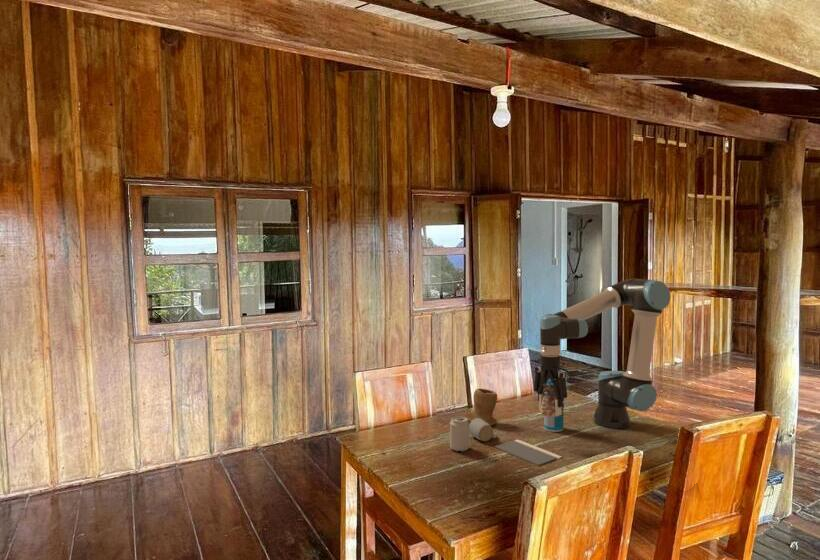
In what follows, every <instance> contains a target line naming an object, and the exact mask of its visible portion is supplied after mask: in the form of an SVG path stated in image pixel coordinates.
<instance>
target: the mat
mask: <svg viewBox="0 0 820 560" xmlns="http://www.w3.org/2000/svg"><path fill="white" fill-rule="evenodd" d="M494 448H496V449H498V450H500V451H503V452H505V453H508V454H509V455H512V456H515V457H517V458H519V459H521V460H523V461H526V462H527V463H530V464H533V465H536V466H537V467H540V466H541V465H545V464H547V463H551V462H553V460H554V461H557V460H558V458H555V457H553V456H550V455H548V454H545V453H543V452H540V451H538V450H535V449H533V448H530V447H528V446H525V445H523V444H520V443H518V442H515V441H514V440H510V441H507V442H503V443H500V444H497V445H494ZM550 461H551V462H550Z"/></svg>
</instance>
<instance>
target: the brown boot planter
mask: <svg viewBox="0 0 820 560" xmlns="http://www.w3.org/2000/svg"><path fill="white" fill-rule="evenodd" d="M497 400H498V394H497V392H495V391H493V390H490V389H487V388H486V389H485V388H476V389H475V390H474V392H473V406H474V411H473V412H468V411H467V412H463V413H462V414H461V415H460V416H459V417H465V418H467V419H468V420H467V421H468V422H469V423H471V421H472V420H473V419H476V418H480V419H482V420H483V421H485V422H486V423H488V424H489V425H490V426H493V425H495V424H497V421H498V420H497V419H496V418H494V415H493V412H494V411H495V408H496V405H497V402H498V401H497Z"/></svg>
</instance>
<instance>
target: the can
mask: <svg viewBox="0 0 820 560" xmlns="http://www.w3.org/2000/svg"><path fill="white" fill-rule="evenodd" d="M467 420H468V419H467V418H465V417H460V416H454V417H452V418H451V420H450V422H449V447H450V449H453V450H452V451H454V450H455V452H458V451H461V452H467V450H468V449H470V433H469V425H470V422H469V421H467Z"/></svg>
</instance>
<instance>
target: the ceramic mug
mask: <svg viewBox="0 0 820 560" xmlns="http://www.w3.org/2000/svg"><path fill="white" fill-rule="evenodd" d="M469 435H470V436H472V437H474V438H476V439H477V440H479V441H480V442H484V443H485V442H488V441H491V439H492V438H494V439H496V438H497V437H498V436H497V433H496V432H495V431H494V430H493V427H492V425H489V424H488V423H486V422H485V421H483V420H482V419H480V418H476V419H473V420H472V421H471V422H469Z"/></svg>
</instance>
